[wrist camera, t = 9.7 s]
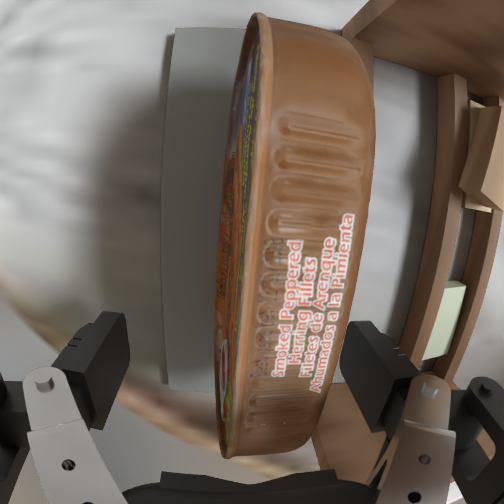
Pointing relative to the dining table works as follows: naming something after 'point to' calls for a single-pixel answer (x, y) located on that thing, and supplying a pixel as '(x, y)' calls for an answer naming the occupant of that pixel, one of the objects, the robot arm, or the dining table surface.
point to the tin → (288, 231)
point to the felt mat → (194, 197)
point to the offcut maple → (472, 120)
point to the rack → (443, 196)
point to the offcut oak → (486, 160)
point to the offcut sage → (445, 320)
